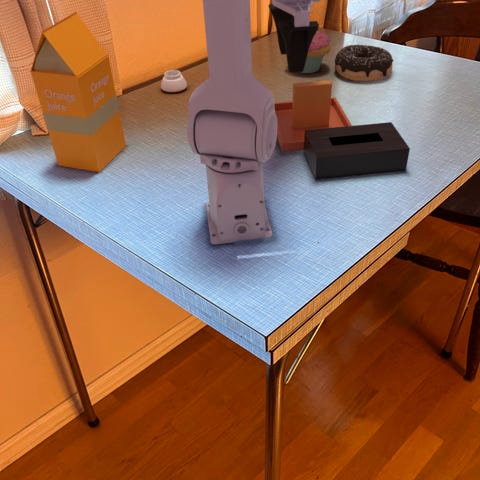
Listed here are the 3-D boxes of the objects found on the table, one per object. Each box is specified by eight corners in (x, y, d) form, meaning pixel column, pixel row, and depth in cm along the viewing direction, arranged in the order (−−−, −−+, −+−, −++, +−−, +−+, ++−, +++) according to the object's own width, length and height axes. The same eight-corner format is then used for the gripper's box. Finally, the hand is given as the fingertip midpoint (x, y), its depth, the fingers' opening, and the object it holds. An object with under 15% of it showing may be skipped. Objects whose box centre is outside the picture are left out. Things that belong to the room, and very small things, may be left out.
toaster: (405, 173, 83) (410, 148, 80) (315, 182, 82) (316, 157, 79) (387, 146, 89) (391, 121, 86) (303, 154, 88) (304, 130, 85)
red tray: (357, 146, 89) (358, 136, 88) (282, 154, 89) (282, 143, 87) (334, 107, 100) (335, 97, 99) (267, 113, 99) (267, 103, 98)
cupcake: (282, 75, 111) (282, 8, 103) (291, 59, 117) (293, -5, 109) (325, 78, 109) (329, 10, 101) (332, 62, 115) (337, -4, 107)
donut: (345, 86, 106) (347, 65, 103) (325, 64, 114) (327, 43, 111) (400, 79, 107) (404, 58, 104) (377, 58, 116) (380, 37, 113)
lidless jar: (157, 93, 108) (182, 94, 106) (155, 77, 105) (180, 78, 104) (166, 82, 111) (190, 84, 110) (164, 67, 109) (189, 68, 108)
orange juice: (127, 145, 93) (101, 12, 79) (100, 172, 87) (66, 33, 73) (85, 140, 95) (53, 9, 81) (56, 165, 89) (16, 29, 75)
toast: (329, 125, 93) (332, 83, 89) (293, 129, 93) (294, 86, 88) (327, 122, 94) (330, 79, 90) (291, 125, 94) (292, 83, 89)
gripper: (334, -28, 74) (327, 77, 83) (311, -52, 84) (307, 44, 94) (280, -24, 73) (280, 81, 83) (264, -49, 84) (265, 47, 93)
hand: (291, 62), depth 88 cm, fingers open, 7 cm apart
